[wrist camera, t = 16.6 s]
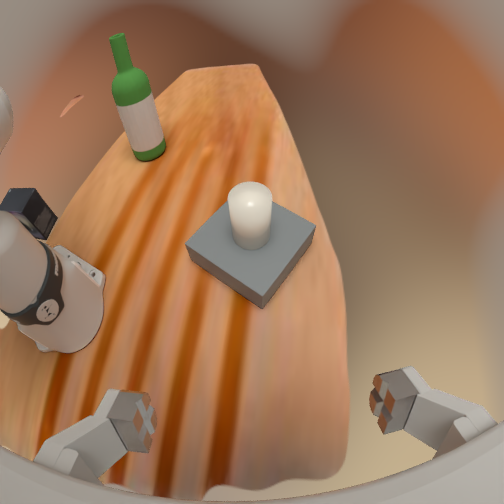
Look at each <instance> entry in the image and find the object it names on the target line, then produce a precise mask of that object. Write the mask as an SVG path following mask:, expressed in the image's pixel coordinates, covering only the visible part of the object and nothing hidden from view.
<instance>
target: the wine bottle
mask: <svg viewBox="0 0 504 504" xmlns="http://www.w3.org/2000/svg"><path fill="white" fill-rule="evenodd" d="M109 40H110V44H111V48H112V52H113V56H114V59H115V63H116V66H117V70H118V73H117V75H116V76H115V78H114V80H113V82H112V94H113V97H114V100H115V103H116V106H117V109H118V112H119V115H120V117H121V120H122V123H123V126H124V129H125V131H126V134H127V137H128V140H129V142H130V145H131V147H132V150H133V152H134V155H135V156H136V158H138V159H139V160H142V161H148V160H152V159H155V158H157V157H158V156H160V155H161V154H162V153H163V152H164V150H165V147H166V143H165V139H164V136H163V132H162V128H161V125H160V121H159V117H158V114H157V110H156V106H155V103H154V99H153V95H152V91H151V88H150V84H149V80H148V77H147V75H146V74H145V73H144V72H143V71H142V70H140V69H138V68H135V67H133V65H132V62H131V58H130V54H129V50H128V46H127V42H126V39H125V34H124V33H119V34H117V35H114V36H112V37H110V39H109Z"/></svg>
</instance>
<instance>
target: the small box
mask: <svg viewBox="0 0 504 504" xmlns="http://www.w3.org/2000/svg"><path fill="white" fill-rule="evenodd" d="M0 211H7V212H9V213H11V214H13V215H14V216H15V217H16V218H17V219H18V220H19V221H20V222H21V223H22V224H23V226H24V227H25V228H26V229H27V230H28V231H29V232H30V233H31V234H32V235H33V236H34V237H35V238H36V239H42V240H47V238H48V236H49V234H50V232H51V230H52V228H53V226H54V224H55V222H56V221H57V219H58V217H57V216H56V215H55V214H54V213H53V211H52V210H51V209H50V208H49V207H48V205H47V204H46V203H45V201H44V200H43V199H42V198H41V196H40V195H39V193H38V192H37V190H36V189H35V188H13V189H9V191H8V193H7V194H6V196H5V198H4V199H3V201H2V203H1V204H0Z"/></svg>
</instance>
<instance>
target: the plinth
mask: <svg viewBox="0 0 504 504" xmlns="http://www.w3.org/2000/svg"><path fill="white" fill-rule="evenodd" d="M315 228H316V225H314V224H313V223H311V222H309V221H307V220H306V219H304V218H302V217H300V216H298V215H297V214H295V213H293V212H291V211H289V210H287V209H286V208H284V207H282V206H280V205H278V204H276V203H274V202H273V201H272V210H271V228H270V238H269V241H268V242H267V244H265V245H264V246H263V247H261V248H259V249H256V250H247V249H243V248H241V247H239V246H238V245H237V244H236V243H235V242H234V239H233V235H232V228H231V220H230V212H229V204H228V201H227V202H225V203H224V204H223V205H222V206H221V207H220V208H219V209H218V210H217V211H216V212H215V213H214V214H213V215H212V216H211V217H210V218H209V219H208V220H207V221H206V222H205V223H204V224H203V225H202V226H201V227H200V229H199V230H198V231H197V232H196V233H195V234H194V235H193V236H192V237H191V238H190V239H189V240H188V241H187V242H186V243H185V245H186V248H187V250H188V253H189V255H190V258H191V260H192V261H193V262H195V263H196V264H198V265H199V266H200V267H202V268H203V269H205V270H206V271H208V272H209V273H210V274H212V275H213V276H215V277H216V278H217V279H219V280H220V281H222V282H223V283H225V284H226V285H228V286H229V287H230V288H232V289H233V290H235V291H236V292H238V293H239V294H241V295H242V296H244V297H245V298H246V299H248V300H249V301H251V302H252V303H254V304H255V305H257V306H258V307H260V308H261V309H263V308H264V306H265V305H266V304H267V302H268V301H269V300H270V298H271V297H272V296H273V295H274V293H275V292H276V291H277V289H278V288H279V287H280V285H281V284H282V283H283V281H284V280H285V279H286V277H287V276H288V275H289V273H290V272H291V270H292V269H293V268H294V266H295V265H296V264H297V262H298V261H299V260H300V258H301V257H302V255H303V254H304V253H305V251H306V250H307V249H308V247H309V246H310V244H311V243H312V239H313V235H314V232H315Z"/></svg>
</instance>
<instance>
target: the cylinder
mask: <svg viewBox="0 0 504 504" xmlns="http://www.w3.org/2000/svg"><path fill="white" fill-rule="evenodd" d="M228 204H229V212H230V220H231V228H232V235H233V239H234V242H235V243H236V244H237V245H238V246H239V247H241V248H243V249H247V250H256V249H259V248H261V247H263V246H264V245H265V244H267V242H268V241H269V238H270V228H271V210H272V194H271V192H270V190H269V189H268V188H267V187H266V186H264V185H263V184H260V183H257V182H244V183H241V184H238V185H236V186H235V187H234V188H232V189H231V191H230V192H229V195H228Z"/></svg>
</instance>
